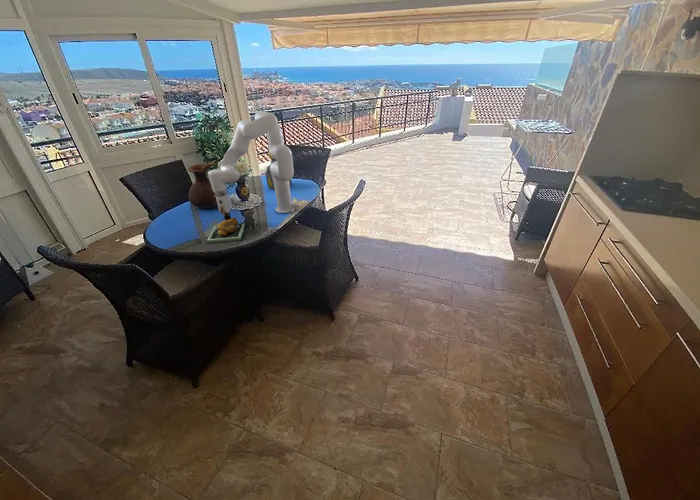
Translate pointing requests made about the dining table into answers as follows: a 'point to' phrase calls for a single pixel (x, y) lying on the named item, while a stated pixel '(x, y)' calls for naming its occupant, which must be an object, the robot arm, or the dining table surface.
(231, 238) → the frame
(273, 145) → the robot arm
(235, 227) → the bread roll
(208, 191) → the jug
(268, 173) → the decorative lamp
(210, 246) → the dining table surface
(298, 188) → the dining table surface
